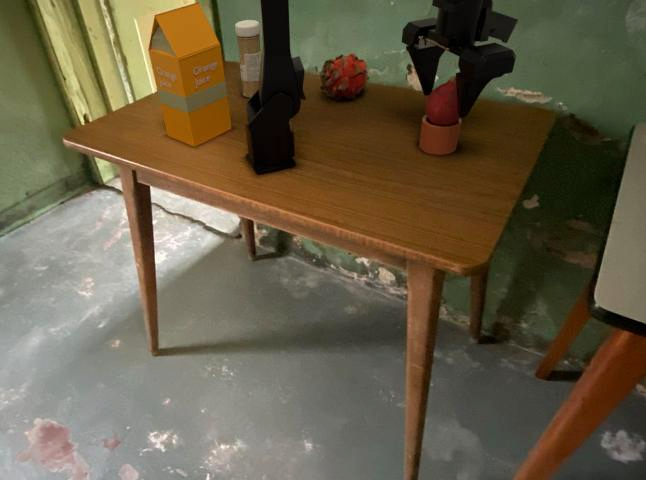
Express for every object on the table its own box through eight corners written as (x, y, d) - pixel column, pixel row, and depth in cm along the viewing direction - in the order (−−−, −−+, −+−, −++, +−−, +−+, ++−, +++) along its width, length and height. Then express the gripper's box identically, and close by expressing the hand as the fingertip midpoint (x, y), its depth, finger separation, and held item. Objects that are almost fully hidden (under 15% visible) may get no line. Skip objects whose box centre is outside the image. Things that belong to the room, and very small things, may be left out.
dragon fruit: (318, 113, 94) (358, 103, 101) (348, 95, 88) (389, 85, 94) (302, 70, 93) (344, 62, 100) (331, 48, 86) (374, 42, 93)
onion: (458, 139, 74) (476, 86, 69) (420, 133, 75) (435, 80, 70) (456, 124, 78) (472, 73, 73) (419, 118, 79) (433, 67, 74)
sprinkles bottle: (242, 91, 101) (234, 20, 92) (264, 89, 101) (258, 18, 92) (243, 99, 97) (235, 27, 89) (265, 97, 98) (260, 24, 89)
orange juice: (232, 128, 88) (216, 4, 75) (194, 147, 83) (170, 18, 70) (203, 118, 92) (183, -1, 79) (166, 135, 87) (138, 11, 74)
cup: (431, 158, 76) (436, 130, 73) (412, 142, 80) (415, 116, 77) (463, 150, 77) (469, 123, 74) (442, 135, 81) (447, 109, 78)
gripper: (567, -6, 59) (531, 118, 69) (472, -31, 72) (453, 76, 83) (489, 8, 56) (464, 134, 67) (405, -21, 70) (395, 88, 80)
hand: (444, 105), depth 74 cm, fingers open, 9 cm apart
